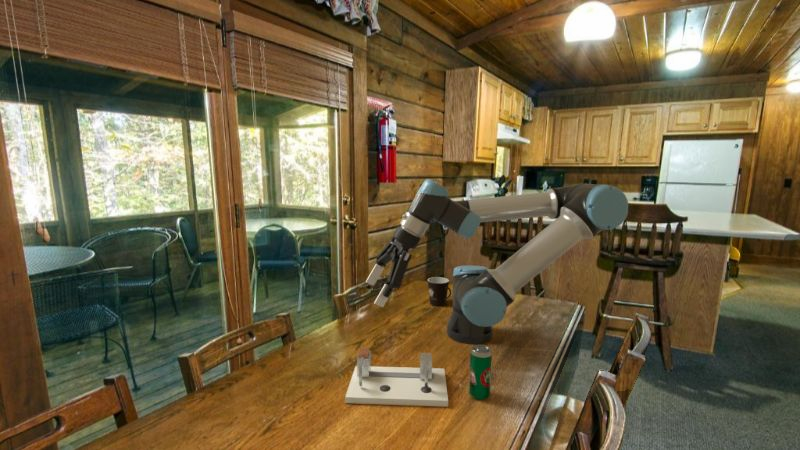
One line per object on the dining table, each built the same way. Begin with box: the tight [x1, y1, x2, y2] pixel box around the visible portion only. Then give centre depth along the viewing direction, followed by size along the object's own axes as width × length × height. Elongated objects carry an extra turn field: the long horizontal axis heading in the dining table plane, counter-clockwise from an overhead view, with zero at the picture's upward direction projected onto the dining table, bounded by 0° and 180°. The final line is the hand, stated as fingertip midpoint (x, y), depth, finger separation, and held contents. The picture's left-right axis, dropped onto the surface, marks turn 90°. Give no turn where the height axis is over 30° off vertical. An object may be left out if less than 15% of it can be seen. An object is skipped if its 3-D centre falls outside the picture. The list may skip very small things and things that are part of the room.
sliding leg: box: [356, 348, 372, 386], centre depth 94 cm, size 3×8×6 cm, turn 177°
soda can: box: [468, 344, 493, 401], centre depth 89 cm, size 5×5×12 cm
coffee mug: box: [427, 276, 452, 308], centre depth 149 cm, size 12×9×10 cm
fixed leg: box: [419, 352, 433, 389], centre depth 93 cm, size 3×8×6 cm, turn 177°
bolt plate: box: [344, 365, 449, 408], centre depth 93 cm, size 24×14×2 cm, turn 87°
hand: (373, 293), depth 107 cm, fingers open, 13 cm apart
